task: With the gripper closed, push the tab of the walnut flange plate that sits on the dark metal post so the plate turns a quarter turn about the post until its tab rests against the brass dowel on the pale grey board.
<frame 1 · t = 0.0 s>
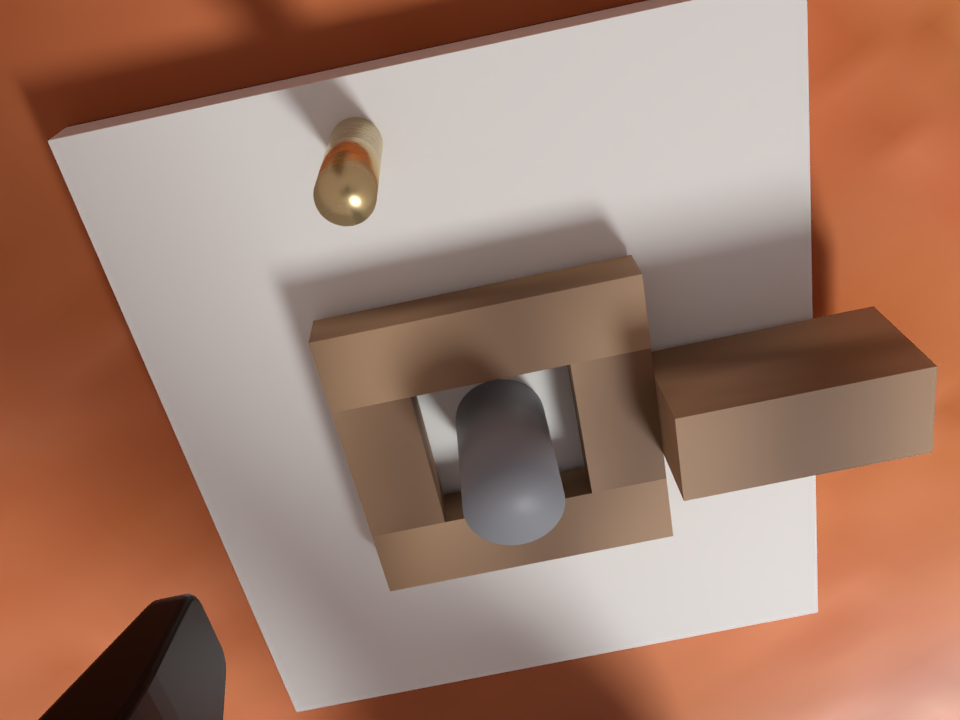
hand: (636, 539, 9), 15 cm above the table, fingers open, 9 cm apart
flange: (623, 432, 22), point 3 cm above the table, hinge at 0.0°
board: (496, 395, 25), on the table
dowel: (359, 130, 21), resting on board
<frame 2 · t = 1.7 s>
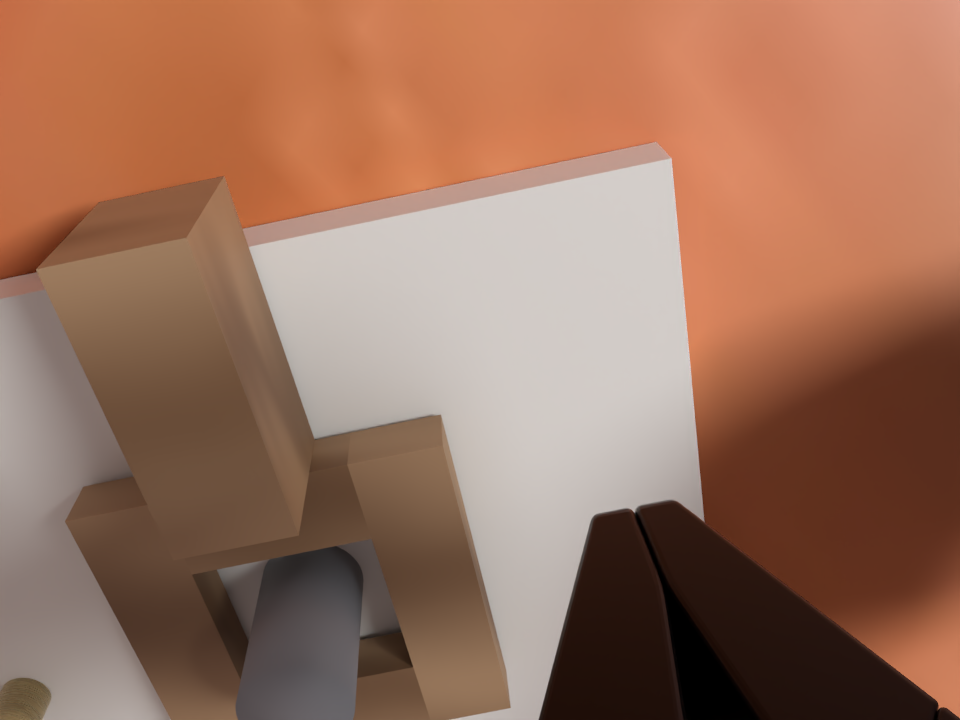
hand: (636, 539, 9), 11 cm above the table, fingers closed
flange: (264, 533, 19), point 3 cm above the table, hinge at 0.0°
board: (317, 547, 23), on the table
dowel: (43, 658, 24), resting on board
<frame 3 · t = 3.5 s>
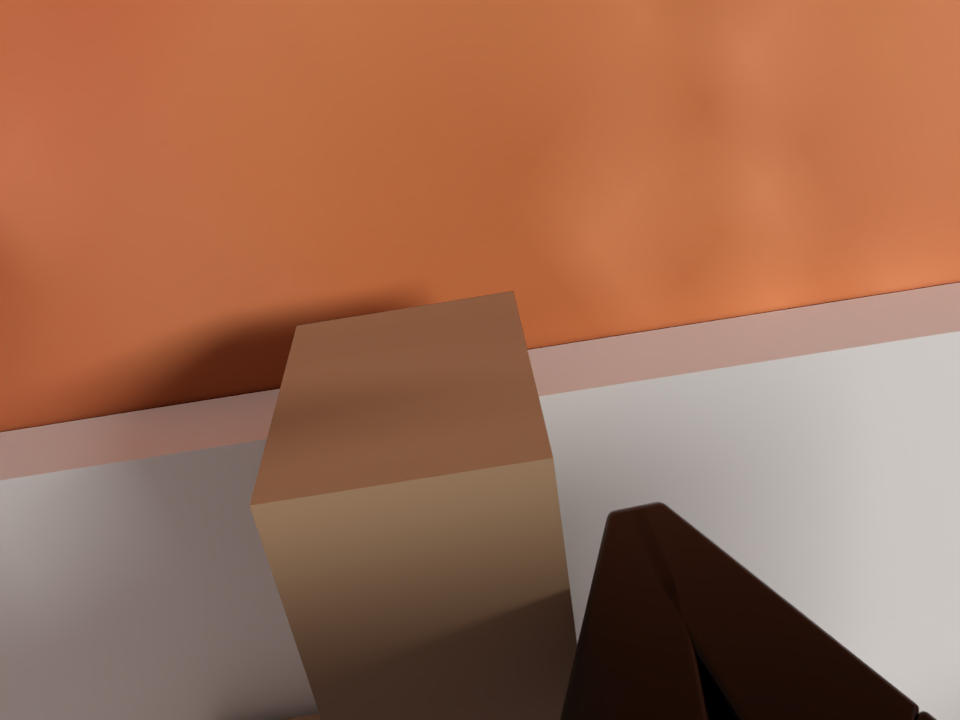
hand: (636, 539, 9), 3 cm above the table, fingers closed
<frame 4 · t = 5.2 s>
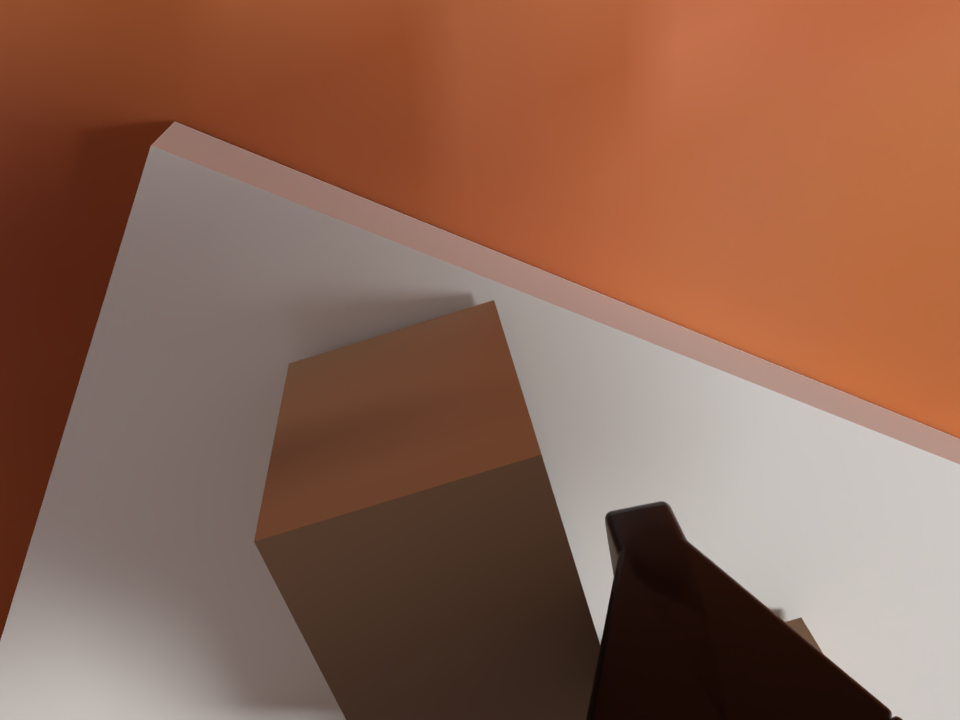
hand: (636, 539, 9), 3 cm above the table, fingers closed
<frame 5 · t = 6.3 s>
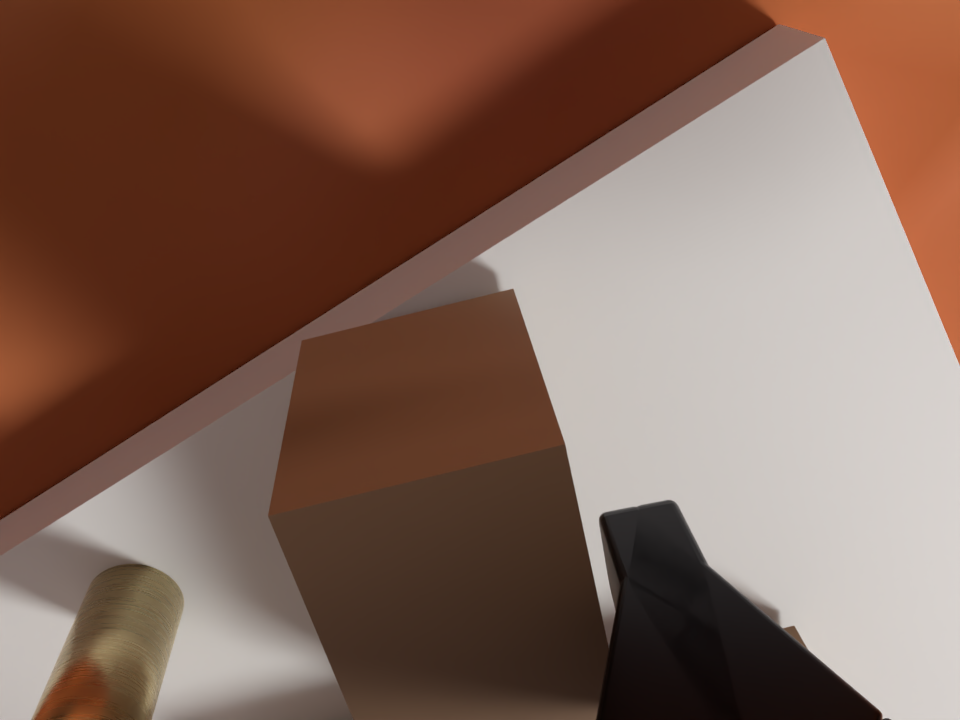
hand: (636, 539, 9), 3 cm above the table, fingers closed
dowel: (157, 541, 13), resting on board
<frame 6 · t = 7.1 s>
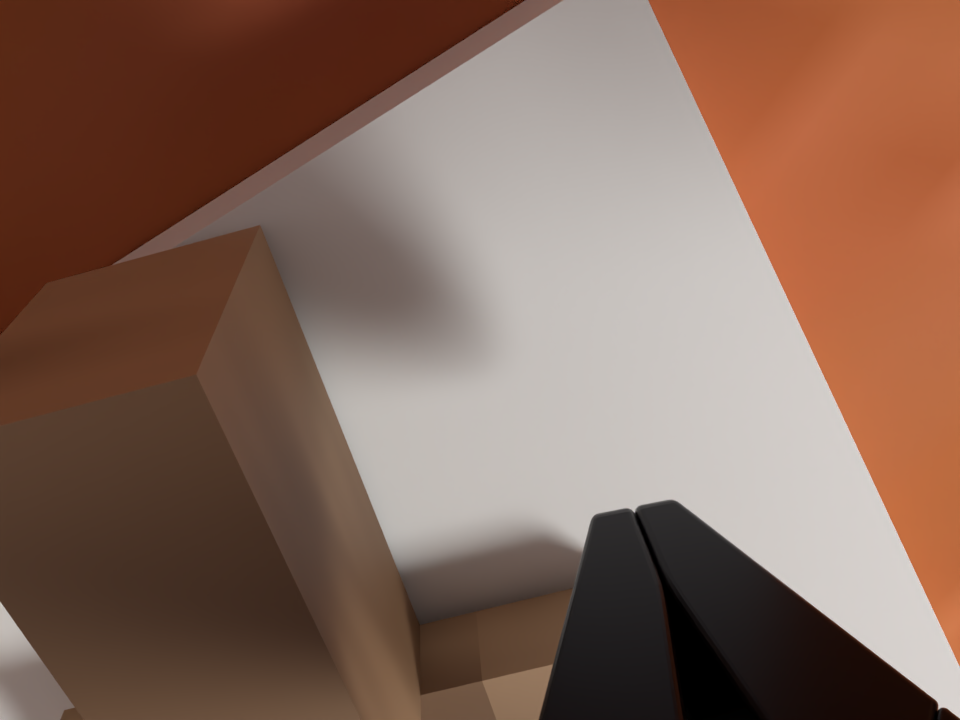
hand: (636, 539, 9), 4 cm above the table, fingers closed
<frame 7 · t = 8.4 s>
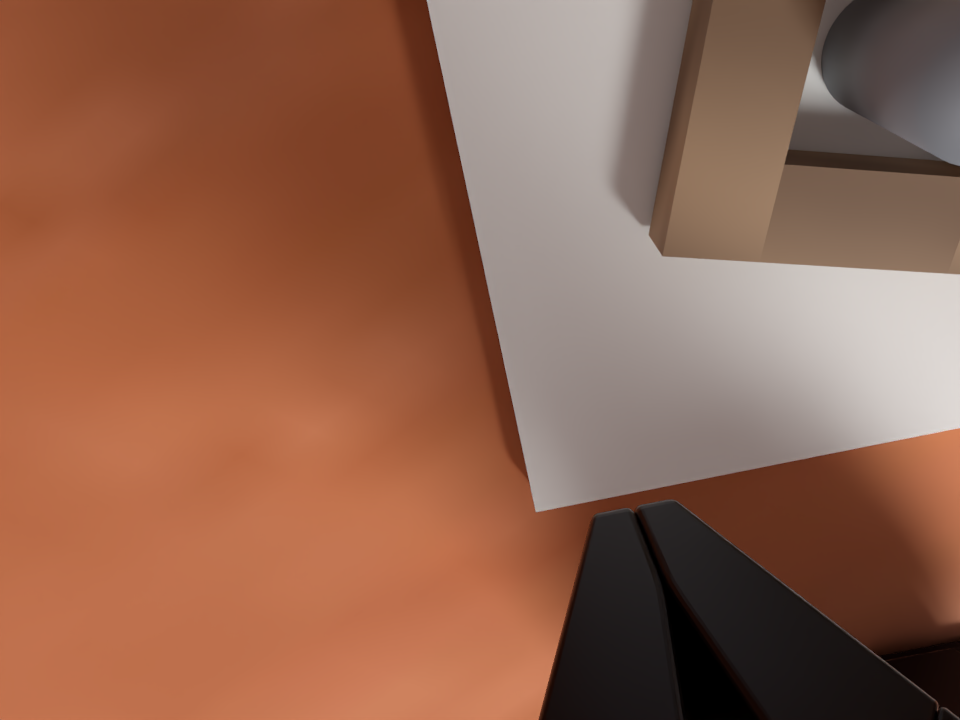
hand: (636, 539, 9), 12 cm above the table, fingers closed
board: (855, 40, 19), on the table
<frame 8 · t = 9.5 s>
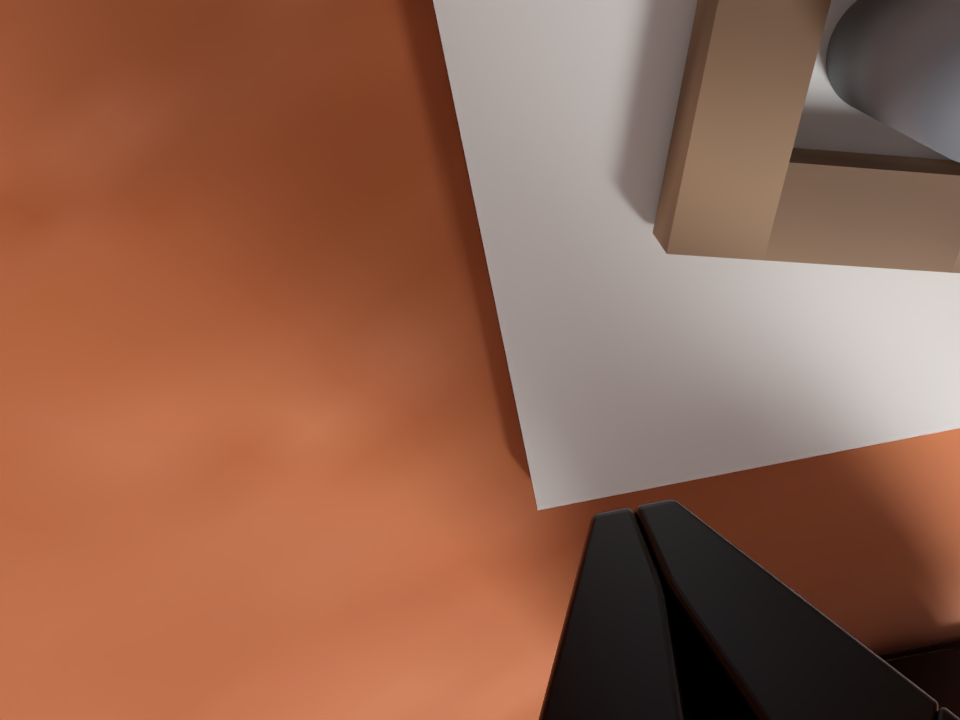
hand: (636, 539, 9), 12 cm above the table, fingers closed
board: (860, 39, 19), on the table
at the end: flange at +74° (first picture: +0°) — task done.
